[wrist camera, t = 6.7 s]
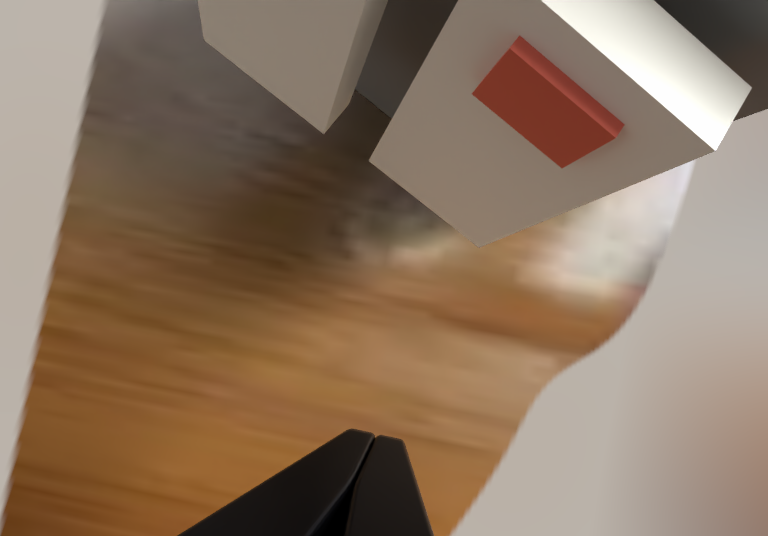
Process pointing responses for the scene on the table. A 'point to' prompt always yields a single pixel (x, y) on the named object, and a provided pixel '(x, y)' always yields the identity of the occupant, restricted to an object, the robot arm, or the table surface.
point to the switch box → (684, 3)
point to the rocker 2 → (552, 110)
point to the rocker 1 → (297, 48)
